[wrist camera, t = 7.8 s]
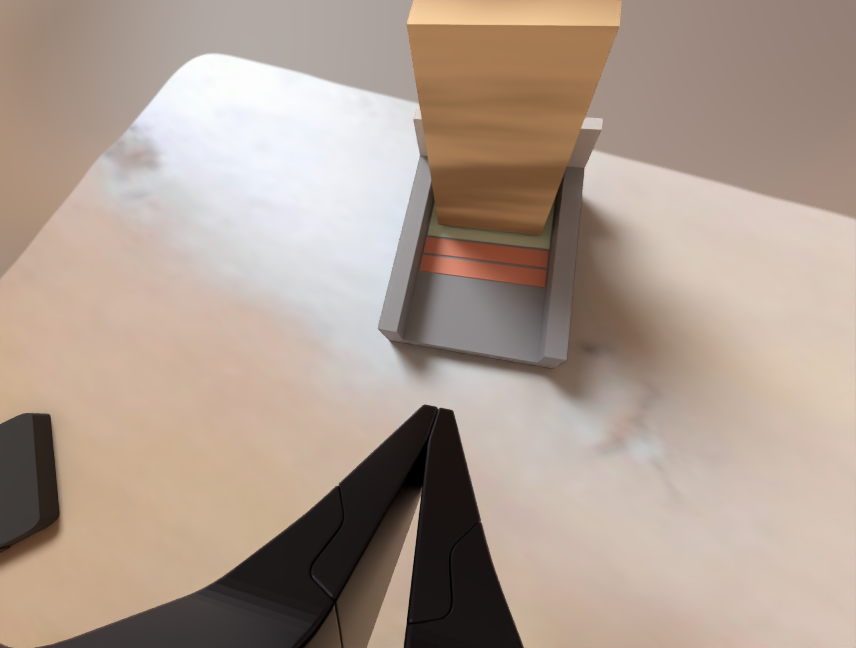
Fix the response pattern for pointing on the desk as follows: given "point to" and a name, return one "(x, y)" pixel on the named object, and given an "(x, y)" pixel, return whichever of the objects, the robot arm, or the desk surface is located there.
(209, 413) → the desk surface
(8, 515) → the smart home device
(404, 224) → the rail box
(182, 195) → the desk surface
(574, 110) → the oak slider
